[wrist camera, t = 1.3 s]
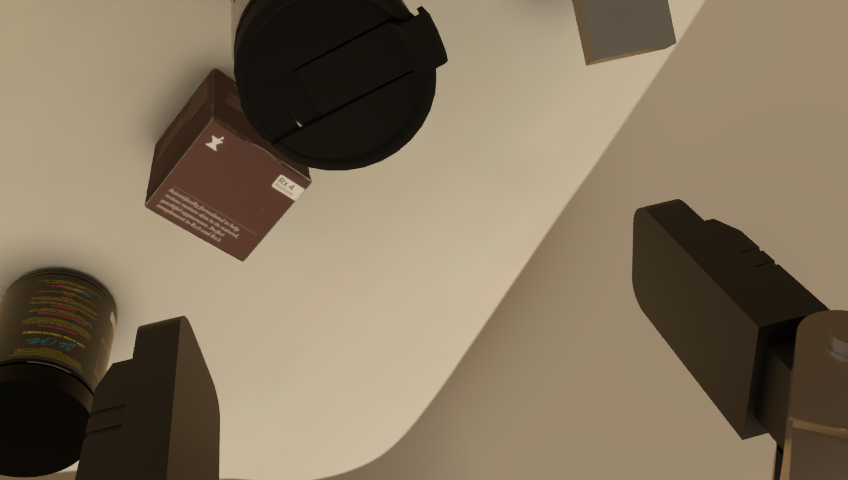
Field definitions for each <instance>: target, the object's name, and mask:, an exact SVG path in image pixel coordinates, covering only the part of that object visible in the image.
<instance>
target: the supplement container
mask: <svg viewBox="0 0 848 480" xmlns="http://www.w3.org/2000/svg"><path fill="white" fill-rule="evenodd" d="M116 324H117V314H116V310H115V306H114V304H113V302H112V300H111V299H110V297H109V295H108V294H107V293H106V292H105V291H104V290H103V289H102V288H101V287H100V286H99V285H98V284H96V283H95V282H93V281H91V280H90V279H88V278H86V277H83V276H81V275H78V274H74V273H70V272H63V271H48V272H41V273H37V274H33V275H31V276H28V277H26V278H24V279H22V280H20V281H19V282H17V283H16V284H14V285H13V286H12V287H11V288H10V289H9V290H8V291H7V292H6V294H5V295H4V297H3V299H2V301H1V303H0V475H5V476H12V477H37V476H43V475H48V474H52V473H55V472H58V471H61V470H63V469H65V468H68V467H69V466H71V465H73V464H74V463H76V462H77V461H78V460H79V459H80V455H81V451H82V446H83V441H84V438H86V434H85V432H86V428H87V423H88V419H89V418H90V417H91V415H90V410H91V405H92V401H93V396H94V391H95V388H96V386H97V385H98V384H99V382H100V381H101V379H102V378H103V377H104V375H105V374H106V372H107V367H108V362H109V358H110V353H111V348H112V343H113V338H114V334H115V329H116Z"/></svg>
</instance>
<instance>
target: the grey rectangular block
mask: <svg viewBox="0 0 848 480" xmlns="http://www.w3.org/2000/svg"><path fill="white" fill-rule="evenodd" d="M572 2H573V6H574V11H575V16H576V20H577V25H578V30H579V34H580V39H581V44H582V48H583V53H584V58H585V62H586V66H587V65H592V64H597V63H601V62H606V61H611V60H615V59H620V58H625V57H629V56H634V55H638V54H643V53H648V52H652V51H657V50H662V49H666V48H668V47H670V46H671V45H673V44H675V43H676V39H675V34H674V29H673V24H672V19H671V14H670V10H669V5H668V0H572Z"/></svg>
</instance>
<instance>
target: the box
mask: <svg viewBox="0 0 848 480" xmlns="http://www.w3.org/2000/svg"><path fill="white" fill-rule="evenodd" d="M311 182H312V180H311V177H310V175H309V168H308V167H307V166H304V165H302V164H299V163H296V162H293V161H291V160H290V159H289V158H287V157H286V156H285V155H283V154H282V153H281V152H279V151H278V150H277V149H275V148H274V147H273V146H272V144H271V142H269V141H267V140H265V139H263V138H262V137H261V136H260V135H259V134H258V133H257V131H256V130H255V129H254V128H253V127H252V125H251V124H250V123H249V121H248V119H247V117H246V115H245V113H244V112H243V110H242V108H241V102H240V96H239V92H238V87H237V83H235V82H234V81H232V80H231V79H229V78H228V77H226V76H225V75H224V74H222V73H221V72H219V71H218V70H216V69H214V70H213V71H212V72H211V73H210V74H209V76H208V77H207V78H206V79H205V81H204V82H203V83H202V85H201V86H200V87H199V89H198V90H197V91H196V93H195V94H194V95H193V97H192V98H191V99H190V101H189V102H188V103H187V105H186V106H185V107H184V109H183V110H182V111H181V113H180V114H179V115H178V116H177V118H176V119H175V121H174V122H173V123H172V124H171V126H170V127H169V128H168V130H167V131H166V132H165V134H164V135H163V136H162V138H161V139H160V140H159V142H158V143H157V144H156V146H155V150H154V157H153V162H152V166H151V173H150V179H149V184H148V189H147V196H146V202H145V207H147V208H148V209H150V210H152V211H153V212H155V213H157V214H159V215H160V216H162V217H164V218H166V219H167V220H169V221H171V222H173V223H174V224H176V225H178V226H180V227H182V228H183V229H185V230H187V231H189V232H190V233H192V234H194V235H196V236H197V237H199V238H201V239H203V240H205V241H207V242H208V243H210V244H212V245H213V246H215V247H217V248H219V249H221V250H222V251H224V252H226V253H228V254H230V255H231V256H233V257H235V258H237V259H239V260H240V261H244V260H245V259H246V258H247V257H248V256H249V255H250V254H251V252H252V251H253V250H254V249H255V248H256V246H257V245H258V244H259V243H260V242H261V241H262V239H263V238H264V237H265V236H266V235H267V233H268V232H269V231H270V230H271V229H272V228H273V226H274V225H275V224H276V223H277V222H278V221H279V219H280V218H281V217H282V216H283V215H284V214H285V212H286V211H287V210H288V209H289V208H290V207H291V205H292V204H293V203H294V202H295V201H296V200H297V199H298V198H299V196H300V195H301V194H302V193H303V192H304V191H305V189H306V188H307V187H308V186H309V185H310V184H311Z"/></svg>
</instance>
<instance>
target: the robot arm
mask: <svg viewBox="0 0 848 480" xmlns="http://www.w3.org/2000/svg"><path fill="white" fill-rule="evenodd" d="M632 282H633V289H634V292H635V296H636V299H637V301H638V303H639V305H640V308H641V309H642V311H643V312H644V313H645V315H646V316H647V317H648V319H649V320H650V321H651V322H652V324H653V325H654V326H655V328H656V329H657V330H658V332H659V333H660V334H661V336H662V337H663V338H664V339H665V341H666V342H667V343H668V344H669V346H670V347H671V348H672V350H673V351H674V352H675V354H676V355H677V356H678V357H679V359H680V360H681V361H682V363H683V364H684V365H685V366H686V368H687V369H688V370H689V372H691V374H692V375H693V376H694V378H695V379H696V381H697V382H698V383H699V385H700V386H701V387H702V388H703V390H704V391H705V392H706V393H707V395H708V396H709V397H710V399H711V400H712V401H713V403H714V404H715V405H716V406H717V408H718V409H719V410H720V411H721V413H722V414H723V416H724V417H725V418H726V419H727V421H728V422H729V423H730V425H731V426H732V427H733V428H734V430H735V431H736V432H737V433H738V435H739V436H740V437H741V439H742V440H744V439H748V438H751V437H755V436H759V435H762V434H765V433H769V434H770V435H771V436H772V438H773V439H774V440H775V441H776V447H775V453H774V460H773V471H772V480H848V311H845V310H829V309H828V308H827V307H826V306H825V305H824V304H823V303H822V302H820V301H819V300H818V299H817V298H816V297H815V296H814V295H813V294H811V293H810V292H809V291H808V290H807V289H806V288H805V287H804V286H802V285H801V284H800V283H799V282H798V281H797V280H795V278H793V277H792V276H791V275H790V274H789V273H788V272H787V271H785V270H784V269H783V268H782V267H781V266H780V265H776V264H775V261H774V260H773V259H772V258H771V257H770V256H769V255H767V254H766V253H765V252H764V251H760V249H759V247H758V246H757V245H756V244H755V243H754V242H753V241H752V240H750V239H749V238H748V237H747V236H746V235H745V234H744V233H743V232H741V231H740V230H738V229H736V228H733V227H731V226H729V225H727V224H724V223H722V222H720V221H717V220H715V219H711V220H706V221H704V220H703V219H702V218H701V217H700V216H699V215H697V214H696V213H695V212H694V211H693V210H692V209H691V208H690V207H689V206H688V205H687V204H686V203H684V202H683V201H682V200H680V199H676V200H672V201H668V202H663V203H659V204H655V205H650V206H646V207H643V208H639V209H637V210H636V212H635V214H634V223H633V263H632ZM90 415H91V417H90V418H89V419H88V423H87V428H86V432H85V434H86V438H84V441H83V446H82V451H81V455H80V460H79V464H78V469H77V473H76V478H75V480H219V442H220V412H219V404H218V398H217V394H216V390H215V386H214V383H213V380H212V378H211V375H210V373H209V370H208V368H207V365H206V363H205V360H204V358H203V355H202V353H201V350H200V348H199V345H198V342H197V340H196V337H195V335H194V332H193V330H192V327H191V325H190V323H189V321H188V319H187V318H186V317H185V316H180V317H176V318H172V319H168V320H164V321H160V322H155V323H151V324H147V325H143V326H140V327H139V328H138V330H137V335H136V341H135V347H134V353H133V359H129V360H125V361H121V362H117V363H113V364H112V365H111V367H110V368H109V370H108V371H107V372H106V374H105V375H104V377H103V378H102V379H101V381H100V382H99V384H98V385H97V386H96V388H95V391H94V396H93V401H92V405H91V410H90Z"/></svg>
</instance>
